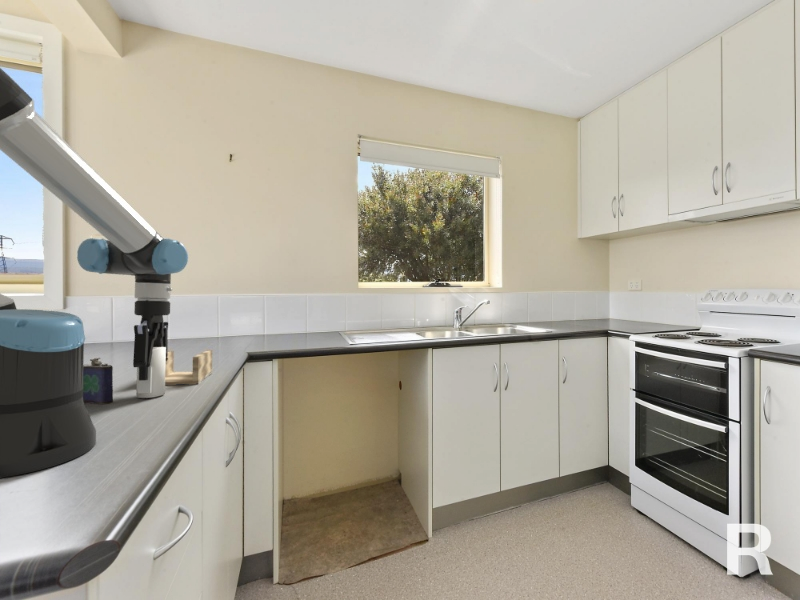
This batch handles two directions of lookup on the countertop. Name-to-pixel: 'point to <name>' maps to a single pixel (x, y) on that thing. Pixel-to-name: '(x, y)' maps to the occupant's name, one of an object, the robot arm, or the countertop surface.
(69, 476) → the countertop surface
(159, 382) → the roll
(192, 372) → the holder
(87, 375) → the flask
